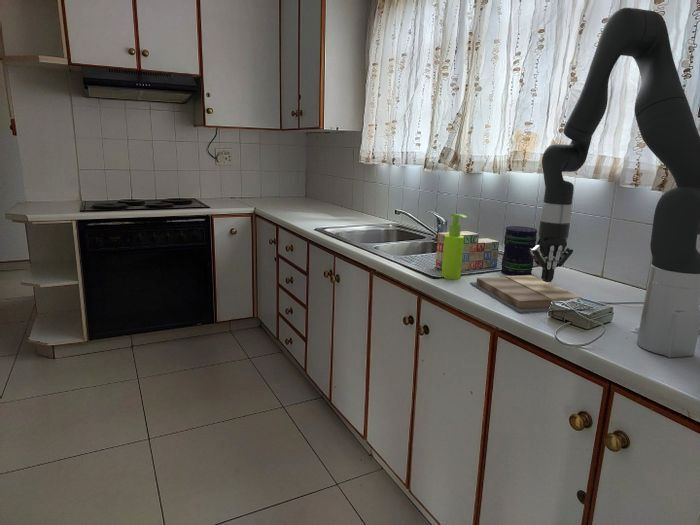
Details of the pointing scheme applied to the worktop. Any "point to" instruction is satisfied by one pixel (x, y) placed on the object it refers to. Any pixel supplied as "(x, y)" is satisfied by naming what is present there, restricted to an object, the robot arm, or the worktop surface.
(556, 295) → the oak plank
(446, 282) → the worktop surface
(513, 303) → the walnut plank
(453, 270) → the soap dispenser
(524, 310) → the underlay mat
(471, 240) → the stack of blocks
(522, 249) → the storage jar
